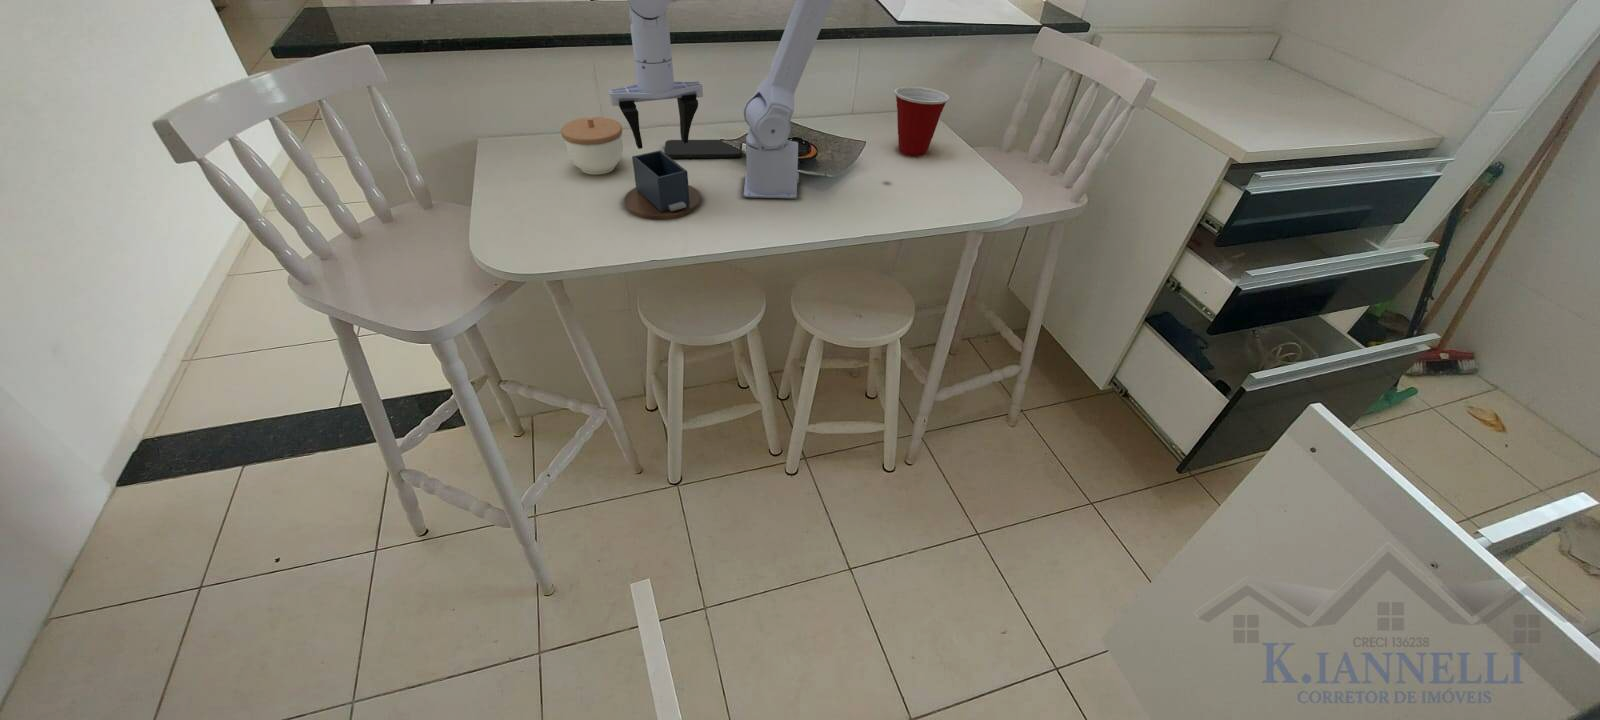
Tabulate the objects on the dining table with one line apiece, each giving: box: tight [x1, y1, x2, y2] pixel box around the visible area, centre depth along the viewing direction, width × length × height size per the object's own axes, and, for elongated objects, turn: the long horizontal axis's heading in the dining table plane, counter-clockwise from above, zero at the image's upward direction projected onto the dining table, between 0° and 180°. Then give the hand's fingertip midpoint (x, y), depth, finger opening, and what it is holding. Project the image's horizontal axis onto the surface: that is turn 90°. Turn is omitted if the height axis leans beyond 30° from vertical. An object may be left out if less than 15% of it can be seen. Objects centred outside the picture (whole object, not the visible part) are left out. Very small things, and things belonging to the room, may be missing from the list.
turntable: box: [624, 184, 701, 220], centre depth 116 cm, size 13×13×1 cm
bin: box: [631, 149, 690, 212], centre depth 113 cm, size 11×5×6 cm, turn 35°
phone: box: [664, 139, 742, 159], centre depth 133 cm, size 7×1×15 cm
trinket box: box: [560, 116, 624, 176], centre depth 123 cm, size 11×11×9 cm
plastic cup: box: [894, 86, 950, 158], centre depth 133 cm, size 11×11×12 cm
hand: (662, 143), depth 111 cm, fingers open, 7 cm apart
